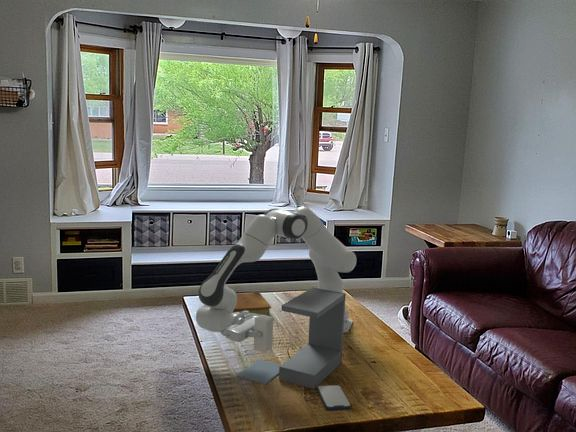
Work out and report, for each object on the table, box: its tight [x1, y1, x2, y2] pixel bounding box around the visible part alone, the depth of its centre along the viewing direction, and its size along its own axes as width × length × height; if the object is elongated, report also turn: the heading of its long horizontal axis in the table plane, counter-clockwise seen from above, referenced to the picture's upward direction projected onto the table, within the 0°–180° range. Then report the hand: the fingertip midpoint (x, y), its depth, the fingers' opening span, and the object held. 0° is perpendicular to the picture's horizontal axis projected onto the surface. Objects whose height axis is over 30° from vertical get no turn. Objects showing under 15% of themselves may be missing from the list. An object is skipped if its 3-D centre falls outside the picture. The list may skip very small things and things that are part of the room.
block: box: [253, 315, 274, 353], centre depth 206 cm, size 5×5×12 cm
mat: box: [236, 358, 281, 385], centre depth 209 cm, size 16×12×1 cm
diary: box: [233, 291, 272, 316], centre depth 275 cm, size 23×19×6 cm
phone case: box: [316, 384, 352, 412], centre depth 191 cm, size 9×2×16 cm
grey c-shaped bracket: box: [278, 287, 346, 390], centre depth 209 cm, size 26×14×28 cm, turn 153°
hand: (265, 332), depth 206 cm, fingers closed on block, 5 cm apart
